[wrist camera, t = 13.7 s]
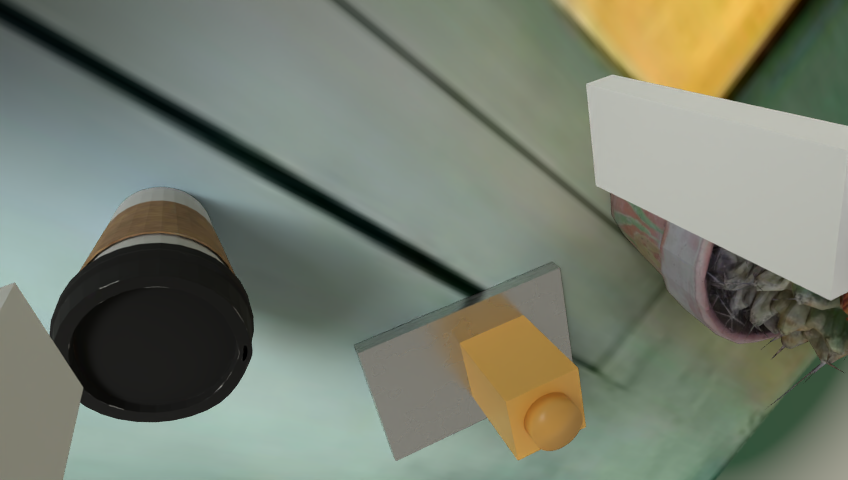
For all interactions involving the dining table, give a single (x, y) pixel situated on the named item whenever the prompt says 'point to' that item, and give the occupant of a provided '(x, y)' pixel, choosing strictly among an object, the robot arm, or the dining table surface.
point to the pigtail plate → (451, 358)
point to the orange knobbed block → (524, 387)
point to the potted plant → (735, 289)
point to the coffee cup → (155, 313)
